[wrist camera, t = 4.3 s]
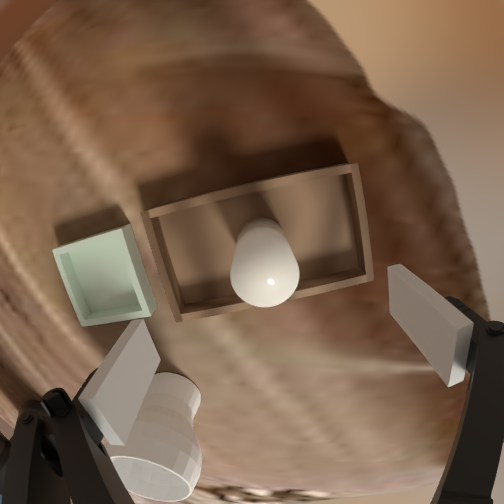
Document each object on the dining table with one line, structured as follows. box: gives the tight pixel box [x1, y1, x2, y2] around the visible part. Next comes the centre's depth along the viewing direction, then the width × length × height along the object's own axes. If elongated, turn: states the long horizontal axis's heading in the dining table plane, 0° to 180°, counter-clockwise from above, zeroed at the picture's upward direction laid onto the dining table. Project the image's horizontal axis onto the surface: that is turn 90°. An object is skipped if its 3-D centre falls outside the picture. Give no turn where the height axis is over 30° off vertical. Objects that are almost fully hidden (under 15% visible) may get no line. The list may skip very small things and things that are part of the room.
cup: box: [105, 372, 202, 501], centre depth 30 cm, size 11×11×15 cm
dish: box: [52, 224, 157, 327], centre depth 31 cm, size 10×10×2 cm
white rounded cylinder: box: [230, 217, 299, 307], centre depth 26 cm, size 5×5×10 cm
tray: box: [141, 163, 374, 322], centre depth 30 cm, size 21×12×3 cm, turn 103°
